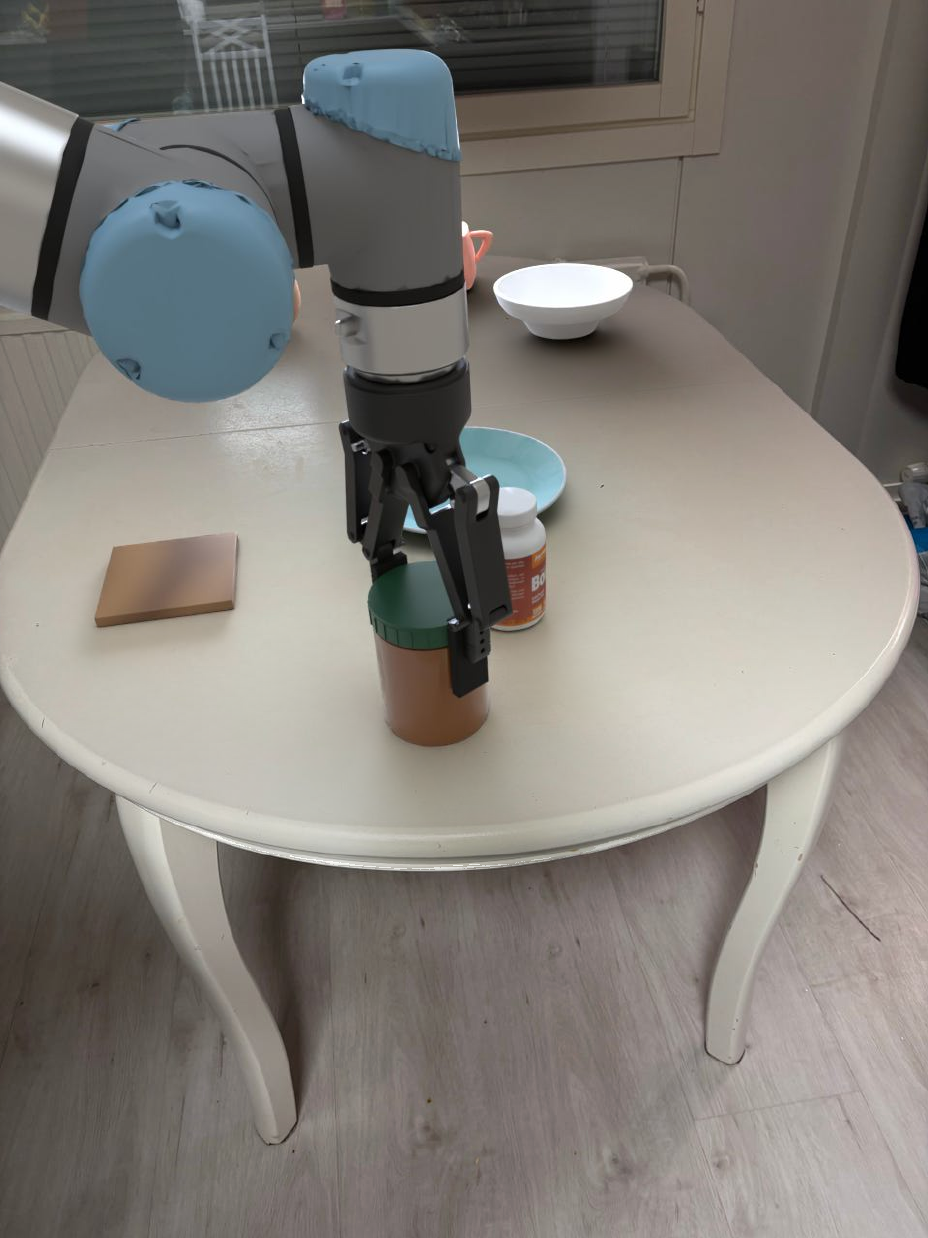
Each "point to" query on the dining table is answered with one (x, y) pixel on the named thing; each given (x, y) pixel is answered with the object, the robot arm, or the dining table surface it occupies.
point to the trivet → (169, 579)
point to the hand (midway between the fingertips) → (432, 657)
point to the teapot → (469, 253)
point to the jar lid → (411, 606)
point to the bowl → (563, 297)
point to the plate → (509, 466)
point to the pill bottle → (522, 557)
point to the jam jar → (426, 696)
